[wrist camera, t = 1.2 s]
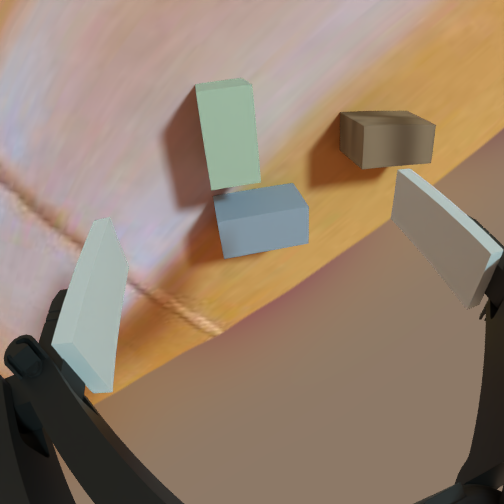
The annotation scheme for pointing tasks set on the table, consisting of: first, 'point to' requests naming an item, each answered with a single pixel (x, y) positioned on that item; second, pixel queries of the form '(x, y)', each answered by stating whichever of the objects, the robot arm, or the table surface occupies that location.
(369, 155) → the walnut block
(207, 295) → the table surface
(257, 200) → the slate block
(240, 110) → the sage block
